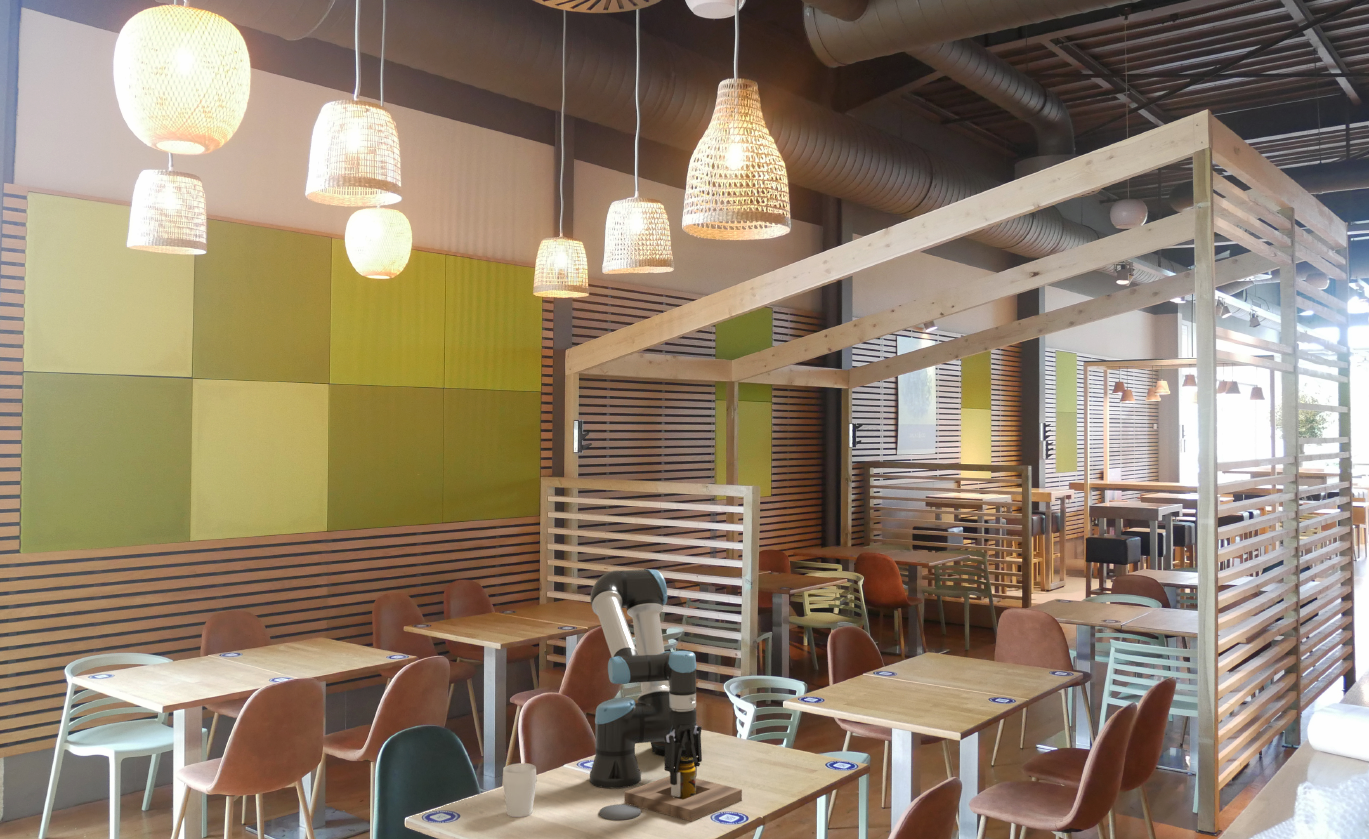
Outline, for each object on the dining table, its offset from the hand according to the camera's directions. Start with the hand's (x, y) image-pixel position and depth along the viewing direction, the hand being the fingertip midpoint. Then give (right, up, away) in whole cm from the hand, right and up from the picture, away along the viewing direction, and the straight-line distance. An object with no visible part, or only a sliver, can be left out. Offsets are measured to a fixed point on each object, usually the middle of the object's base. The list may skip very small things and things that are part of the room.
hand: (683, 792), depth 284 cm
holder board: (0, -2, 0) cm, 2 cm away
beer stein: (-2, -5, +51) cm, 51 cm away
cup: (-44, -3, -9) cm, 45 cm away
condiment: (0, -3, -1) cm, 3 cm away
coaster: (-17, -2, -9) cm, 20 cm away
